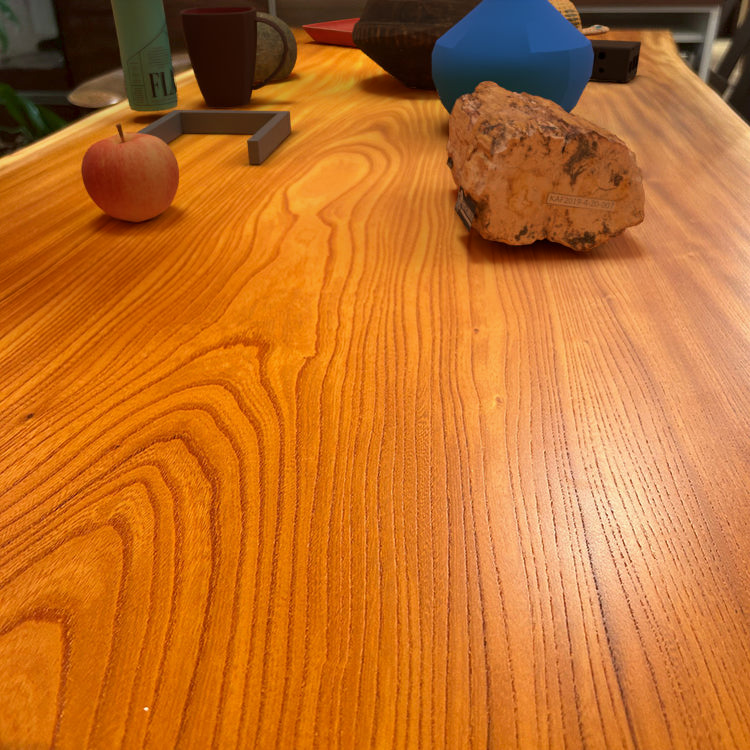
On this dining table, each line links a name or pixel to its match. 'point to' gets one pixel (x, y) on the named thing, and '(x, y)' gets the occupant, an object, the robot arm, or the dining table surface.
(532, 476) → the dining table surface
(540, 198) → the petrified wood
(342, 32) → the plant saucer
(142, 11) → the beverage bottle
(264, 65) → the grey green rounded stone
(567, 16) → the decorative figurine
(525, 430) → the dining table surface
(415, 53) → the ceramic pot
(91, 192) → the apple
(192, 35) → the mug
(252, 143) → the bay
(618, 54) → the electronic device
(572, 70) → the vase
